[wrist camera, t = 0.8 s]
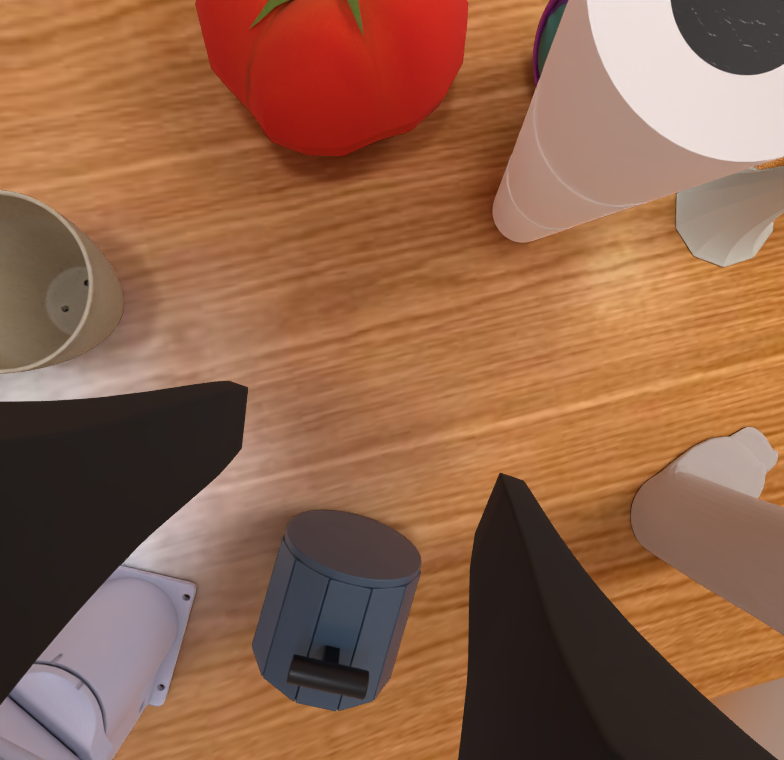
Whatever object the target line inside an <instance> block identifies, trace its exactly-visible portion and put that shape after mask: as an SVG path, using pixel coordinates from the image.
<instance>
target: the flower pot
mask: <svg viewBox="0 0 784 760" xmlns="http://www.w3.org/2000/svg"><path fill="white" fill-rule="evenodd" d="M85 281H87V285H85ZM67 309H69V310H68V311H67V312H65V311H66V310H67ZM123 310H124V294H123V290H122V286H121V283H120V281H119V278H118V276H117V274H116V272H115V270H114V269H113V267H112V265H111V264H110V262H109V261H108V259H107V258H106V257H105V255H104V254H103V253H102V251H101V250H100V249H99V248H98V247H97V246H96V245H95V243H94V242H93V241H92V240H91V239H90V238H89V237H88V236H87V235H85V234H84V233H83V232H82V231H81V230H80V229H79V228H78V227H77V226H75V225H74V224H73V223H72V222H71V221H69V220H68V219H67V218H65V217H64V216H62V215H61V214H60V213H58V212H57V211H55V210H54V209H52V208H51V207H49V206H47V205H46V204H44V203H42V202H40V201H39V200H36V199H34V198H32V197H29V196H27V195H24V194H21V193H17V192H12V191H6V190H0V374H4V373H15V372H23V371H29V370H35V369H39V368H44V367H48V366H51V365H55V364H58V363H61V362H64V361H67V360H69V359H72V358H74V357H77V356H79V355H81V354H83V353H85V352H87V351H88V350H90V349H92V348H93V347H95V346H97V345H98V344H99V343H101V342H102V341H103V340H105V339H106V338H107V337H108V336H109V335H110V334H111V333H112V332H113V331H114V329H115V328H116V326H117V325H118V323H119V321H120V319H121V317H122V314H123Z"/></svg>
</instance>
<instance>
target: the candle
mask: <svg viewBox="0 0 784 760" xmlns="http://www.w3.org/2000/svg"><path fill="white" fill-rule="evenodd" d="M777 459H778V453H777V451H776V450H773V449H772V447H771V446H770V444H769V442H768V440H767V439H766V438H765V436H764V435H763V434H762V433H761V432H760V431H758V430H757V429H755V428H754V427H746V428H744V429H742V430H740V431H738V432H737V433H735V434H733V435H731V436H730V437H716V438H710V439H708V440H706V441H704V442H701V443H699V444H697V445H695V446H693V447H691V448H690V449H689V450H687V451H686V452H685V453H683V454H682V455H681V456H679V457H678V458H677V459H676V460H674V461H673V462H672V463H671V464H669V465H668V466H667V467H666V468H665V469H663V470H662V471H661V472H660V473H658V474H657V475H655V476H654V477H652V478H651V479H649V480H648V481H647V482H646V483H645V484H643V486H642V487H641V488H640V489H639V491H638V492H637V494H636V496H635V498H634V501H633V504H632V508H631V525H632V529H633V532H634V534H635V536H636V538H637V540H638V541H639V543H640V544H641V545H642V546H643V547H644V548H645V549H646V550H648V551H649V552H651V553H652V554H654V555H655V556H657V557H658V558H660V559H661V560H663V561H665V562H666V563H668V564H669V565H671V566H672V567H674V568H675V569H677V570H678V571H680V572H682V573H683V574H685V575H686V576H688V577H689V578H691V579H692V580H694V581H695V582H697V583H699V584H700V585H702V586H703V587H705V588H707V589H708V590H710V591H712V592H713V593H715V594H717V595H718V596H720V597H722V598H724V599H725V600H727V601H729V602H730V603H732V604H734V605H736V606H737V607H739V608H741V609H742V610H744V611H746V612H747V613H749V614H751V615H752V616H754V617H755V618H757V619H759V620H760V621H762V622H764V623H765V624H767V625H768V626H770V627H771V628H773V629H774V630H776V631H778V632H779V633H781V634H782V635H784V507H781V506H778V505H775V504H772V503H769V502H766V501H763V500H760V499H757V498H758V497H759V495H760V493H761V491H762V489H763V487H764V484H765V475H766V472H768V471H769V470H771V469H772V467H773V466H774V465H775V464H776V463H777Z"/></svg>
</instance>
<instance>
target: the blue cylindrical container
mask: <svg viewBox="0 0 784 760" xmlns="http://www.w3.org/2000/svg"><path fill="white" fill-rule="evenodd" d="M420 566H421V557H420V554H419V552H418V550H417V549H416V547H415V546H414V545H413V544H412V543H411V542H410V541H409V540H408V539H407V538H406V537H404V536H403V535H402V534H400V533H399V532H397V531H396V530H394V529H392V528H390V527H388V526H386V525H385V524H382V523H380V522H378V521H375V520H373V519H370V518H367V517H364V516H360V515H357V514H353V513H348V512H342V511H334V510H313V511H307V512H303V513H300V514H298V515H296V516H294V517H293V518H292V519H291V520H290V521H289V522H288V524H287V527H286V531H285V533H284V535H283V538H282V540H281V544H280V547H279V551H278V555H277V558H276V562H275V565H274V569H273V572H272V576H271V579H270V583H269V586H268V590H267V593H266V597H265V600H264V604H263V608H262V611H261V615H260V618H259V622H258V625H257V629H256V632H255V636H254V639H253V643H252V649H253V652H254V655H255V657H256V660H257V663H258V666H259V669H260V672H261V675H262V676H263V678H264V679H266V680H267V681H268V682H269V683H271V684H272V685H273V686H274V687H276V688H277V689H278V690H279V691H281V692H282V693H283V694H284V695H286V696H287V697H288V698H289V699H291V700H292V701H295V700H296V703H299V704H304V705H309V706H313V707H318V708H323V709H327V710H332V711H336V710H337V709H338V711H341V710H344V709H348V708H351V707H355V706H358V705H362V704H365V703H368V702H372V701H373V700H375V698H376V697H377V696H378V694H379V693H380V691H381V690H382V689H383V687H384V686H385V685H386V683H387V682H388V681H389V679H390V678H391V674H392V671H393V667H394V664H395V661H396V657H397V654H398V650H399V647H400V643H401V640H402V636H403V633H404V629H405V626H406V622H407V619H408V615H409V612H410V608H411V605H412V602H413V598H414V595H415V591H416V588H417V584H418V581H419V577H420V574H421V571H420Z"/></svg>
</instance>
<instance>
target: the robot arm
mask: <svg viewBox="0 0 784 760" xmlns="http://www.w3.org/2000/svg"><path fill="white" fill-rule="evenodd" d="M247 394H248V387H245V386H242V385H240V384H237V383H234V382H231V381H218V382H208V383H201V384H194V385H187V386H181V387H174V388H168V389H161V390H155V391H148V392H140V393H132V394H124V395H116V396H108V397H99V398H88V399H74V400H58V401H23V402H0V760H113V758H114V757H115V755H116V753H117V752H118V750H119V749H120V747H121V746H122V744H123V742H124V741H125V739H126V738H127V736H128V735H129V733H130V731H131V730H132V728H133V727H134V725H135V724H136V722H137V721H138V719H139V717H140V716H141V714H142V713H143V711H144V710H145V708H146V706H147V705H152V706H161V705H162V704H163V703H164V701H165V700H166V697H167V694H168V690H169V687H170V683H171V679H172V676H173V672H174V669H175V665H176V662H177V658H178V655H179V651H180V647H181V644H182V640H183V637H184V633H185V630H186V626H187V622H188V619H189V615H190V612H191V608H192V605H193V601H194V598H195V594H196V590H197V587H196V585H195V584H194V583H193V582H189V581H185V580H180V579H176V578H172V577H168V576H163V575H159V574H155V573H150V572H146V571H142V570H138V569H133V568H129V567H125V566H120V565H121V564H122V563H123V562H124V561H125V560H126V559H127V558H128V557H129V556H130V555H131V554H132V552H133V551H134V550H135V549H136V548H137V547H138V546H139V545H140V544H141V543H142V542H143V541H145V540H146V539H147V538H148V537H149V536H150V535H151V534H152V533H153V532H154V531H155V530H156V529H158V528H159V527H160V526H161V525H162V524H163V523H164V522H166V521H167V520H168V519H169V518H170V517H171V516H173V515H174V514H175V513H176V512H177V511H178V510H180V509H181V508H182V507H183V506H184V505H185V504H186V503H188V502H189V501H190V500H191V499H192V498H193V497H195V496H196V495H197V494H198V493H199V492H200V491H201V490H203V489H204V488H205V487H206V486H207V485H208V484H209V483H210V482H212V481H213V480H214V479H215V478H216V477H217V476H218V475H219V474H220V473H221V472H222V471H223V470H224V469H225V468H226V467H227V465H228V464H229V463H230V462H231V461H232V460H233V458H234V457H235V456H236V455H237V454H238V452H239V451H240V450H241V449H242V441H243V432H244V422H245V413H246V404H247ZM185 594H188V595H189V596H190V598H187V597H185ZM160 684H163V685H164V687H162V686H161V685H160ZM458 760H778V759H776V758H775V757H774V756H773V755H771V754H770V753H769V752H768V751H767V750H765V749H764V748H763V747H762V746H760V745H759V744H758V743H757V742H756V741H754V740H753V739H752V738H751V737H750V736H749V735H747V734H746V733H745V732H744V731H743V730H742V729H740V728H739V727H738V726H737V725H736V724H734V722H733V721H732V720H730V719H729V718H728V717H727V716H726V715H725V714H724V713H722V712H721V711H720V710H719V709H718V708H717V707H716V706H715V705H713V704H712V703H711V702H710V701H709V700H708V699H707V698H706V697H705V696H703V695H702V694H701V693H700V692H699V691H698V690H697V689H696V688H695V687H694V686H693V685H692V684H691V683H689V682H688V681H687V680H686V679H685V678H684V677H683V676H682V675H681V674H680V673H679V672H678V671H677V670H676V669H675V668H674V667H673V666H672V665H671V664H670V663H669V662H668V661H667V660H666V659H665V658H664V657H663V656H662V655H661V654H660V653H659V652H658V651H657V650H656V649H655V648H654V647H653V646H652V645H651V644H650V643H649V642H648V641H647V640H646V639H645V638H644V637H643V636H642V635H641V634H640V633H639V632H638V631H637V630H636V629H635V628H634V627H633V626H632V625H631V624H630V623H629V622H628V620H627V619H626V618H625V617H624V616H623V615H622V614H621V613H620V611H619V610H618V609H617V608H616V607H615V606H614V605H613V603H612V602H611V601H610V600H609V599H608V598H607V597H606V595H605V594H604V593H603V592H602V591H601V590H600V588H599V587H598V586H597V585H596V584H595V582H594V581H593V580H592V579H591V577H590V576H589V575H588V574H587V572H586V571H585V570H584V568H583V567H582V566H581V564H580V563H579V562H578V560H577V559H576V558H575V556H574V555H573V554H572V552H571V551H570V550H569V548H568V547H567V545H566V544H565V543H564V541H563V540H562V538H561V537H560V535H559V534H558V533H557V531H556V530H555V528H554V527H553V525H552V524H551V522H550V521H549V519H548V517H547V516H546V514H545V513H544V511H543V510H542V508H541V507H540V505H539V503H538V502H537V500H536V499H535V497H534V495H533V494H532V492H531V491H530V489H529V488H528V486H527V485H526V483H525V482H524V481H523V480H520V479H517V478H514V477H511V476H509V475H506V474H503V473H500V474H499V476H498V478H497V481H496V483H495V486H494V488H493V491H492V493H491V496H490V498H489V500H488V503H487V505H486V508H485V510H484V513H483V515H482V518H481V520H480V522H479V525H478V527H477V530H476V532H475V537H474V544H473V550H472V557H471V564H470V584H469V645H468V674H467V687H466V696H465V705H464V714H463V723H462V732H461V741H460V749H459V757H458Z"/></svg>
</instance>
